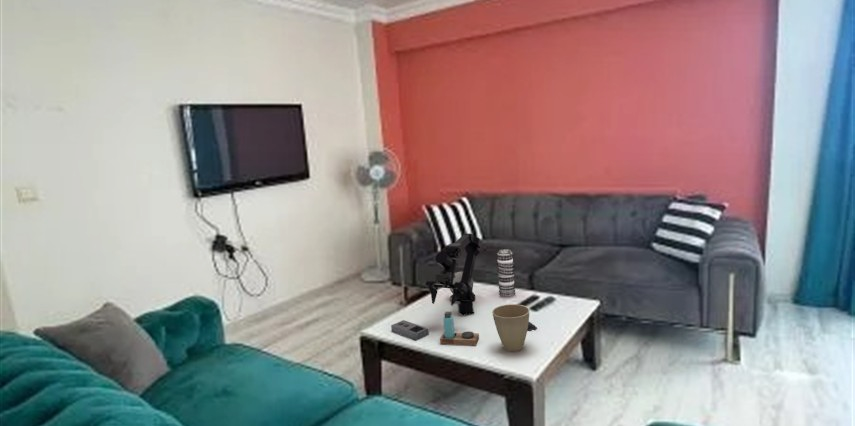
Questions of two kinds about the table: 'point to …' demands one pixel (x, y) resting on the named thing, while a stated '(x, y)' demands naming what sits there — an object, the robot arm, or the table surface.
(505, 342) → the plant pot
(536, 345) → the table surface
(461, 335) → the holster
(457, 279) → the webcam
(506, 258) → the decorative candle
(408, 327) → the port block
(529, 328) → the phone
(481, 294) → the table surface
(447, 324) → the plug
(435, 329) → the table surface
